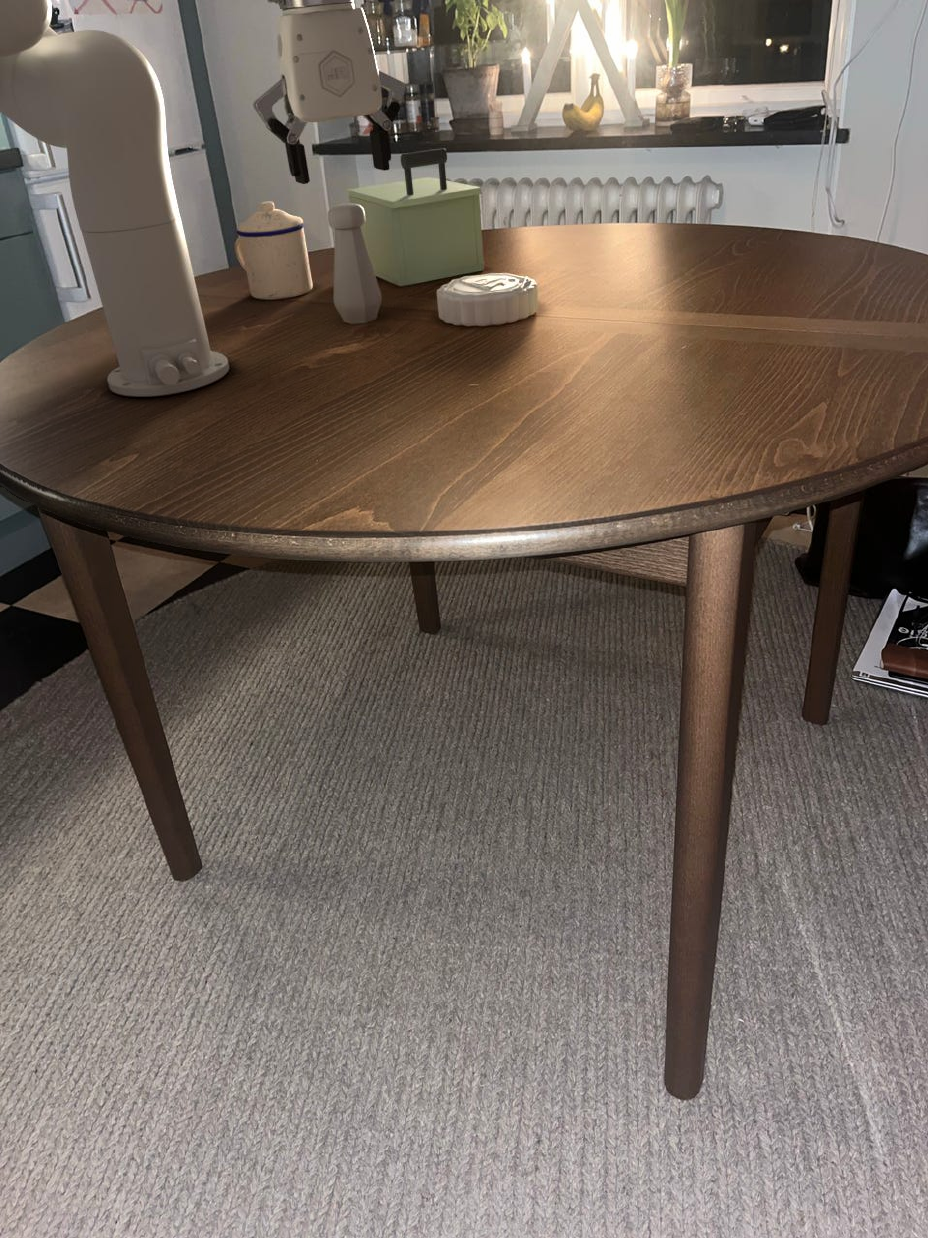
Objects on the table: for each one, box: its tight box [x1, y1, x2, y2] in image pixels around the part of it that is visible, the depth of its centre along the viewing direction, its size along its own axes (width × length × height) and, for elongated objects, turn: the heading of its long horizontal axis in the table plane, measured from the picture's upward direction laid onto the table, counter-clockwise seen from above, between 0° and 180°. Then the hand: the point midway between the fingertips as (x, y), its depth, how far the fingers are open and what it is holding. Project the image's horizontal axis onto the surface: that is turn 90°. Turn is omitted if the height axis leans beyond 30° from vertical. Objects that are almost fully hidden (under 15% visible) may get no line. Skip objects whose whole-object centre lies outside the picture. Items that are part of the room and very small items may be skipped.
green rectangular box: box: [348, 194, 485, 287], centre depth 134 cm, size 16×13×10 cm
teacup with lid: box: [234, 200, 314, 301], centre depth 129 cm, size 12×9×12 cm
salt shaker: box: [327, 203, 383, 325], centre depth 112 cm, size 6×6×13 cm
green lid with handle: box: [347, 147, 483, 208], centre depth 129 cm, size 17×13×6 cm
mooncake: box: [436, 272, 539, 327], centre depth 112 cm, size 12×12×4 cm
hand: (342, 175), depth 107 cm, fingers open, 9 cm apart
